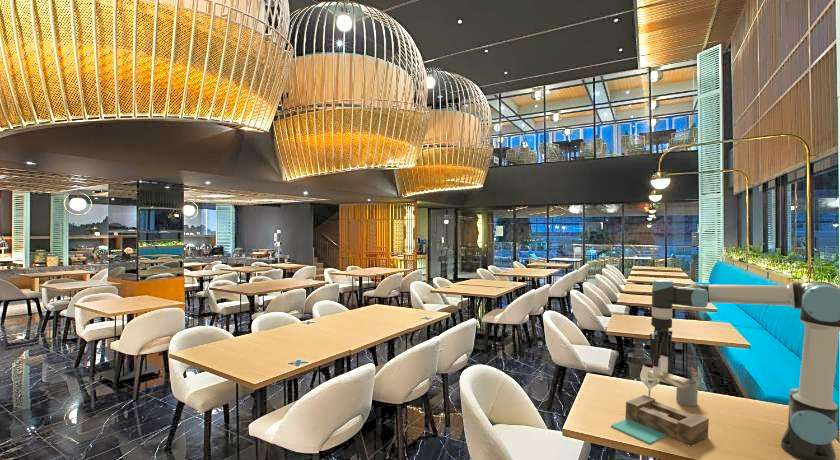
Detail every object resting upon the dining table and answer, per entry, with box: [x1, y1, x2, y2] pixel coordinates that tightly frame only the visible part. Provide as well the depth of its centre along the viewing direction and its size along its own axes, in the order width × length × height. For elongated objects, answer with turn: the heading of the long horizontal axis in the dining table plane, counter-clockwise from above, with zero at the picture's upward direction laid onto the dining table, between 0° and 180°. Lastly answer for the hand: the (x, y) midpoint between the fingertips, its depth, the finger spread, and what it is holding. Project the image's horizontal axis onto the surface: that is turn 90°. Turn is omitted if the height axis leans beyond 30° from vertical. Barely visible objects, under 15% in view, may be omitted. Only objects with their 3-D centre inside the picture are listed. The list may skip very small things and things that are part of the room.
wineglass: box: [639, 363, 661, 397], centre depth 199 cm, size 8×8×18 cm
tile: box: [648, 370, 689, 388], centre depth 176 cm, size 14×5×2 cm, turn 33°
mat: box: [610, 419, 667, 445], centre depth 173 cm, size 16×12×1 cm
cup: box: [675, 378, 699, 407], centre depth 202 cm, size 8×8×10 cm
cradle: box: [624, 394, 710, 447], centre depth 177 cm, size 26×14×8 cm, turn 33°
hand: (660, 372), depth 179 cm, fingers closed on tile, 5 cm apart
